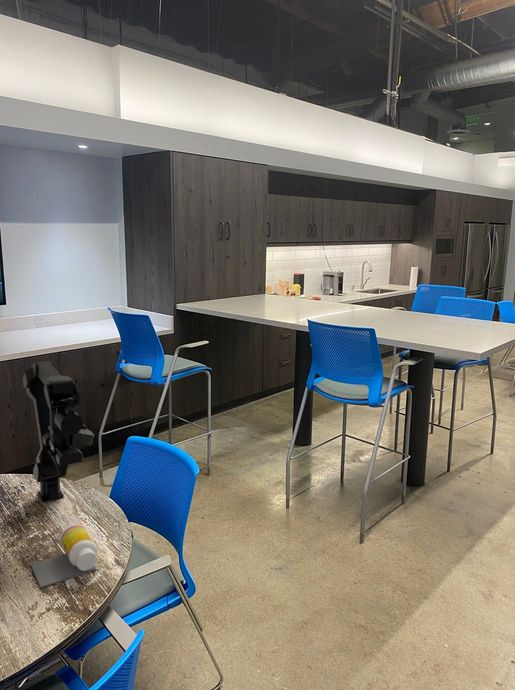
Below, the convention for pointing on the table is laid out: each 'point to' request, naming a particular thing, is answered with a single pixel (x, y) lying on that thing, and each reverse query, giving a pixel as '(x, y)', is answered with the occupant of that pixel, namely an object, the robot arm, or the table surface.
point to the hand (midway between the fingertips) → (63, 475)
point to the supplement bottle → (79, 547)
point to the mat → (56, 570)
